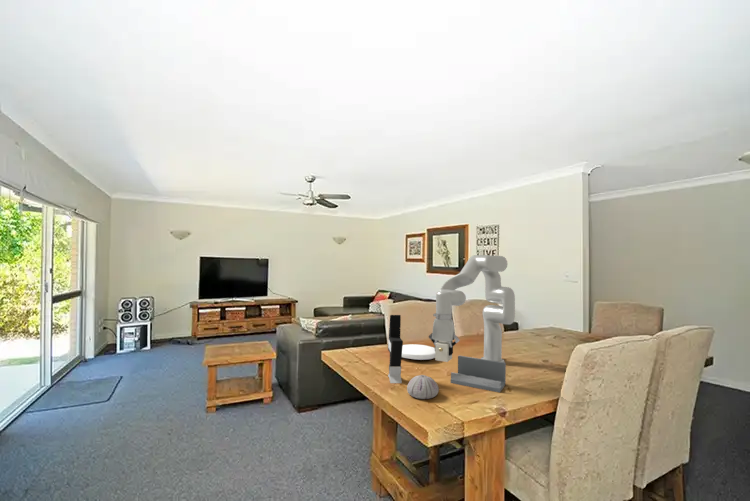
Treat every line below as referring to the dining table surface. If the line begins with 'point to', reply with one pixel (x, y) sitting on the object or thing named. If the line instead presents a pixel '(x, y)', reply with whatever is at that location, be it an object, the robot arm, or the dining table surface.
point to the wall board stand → (480, 373)
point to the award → (395, 349)
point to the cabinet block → (442, 351)
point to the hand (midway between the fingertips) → (443, 353)
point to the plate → (418, 352)
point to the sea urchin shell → (422, 387)
